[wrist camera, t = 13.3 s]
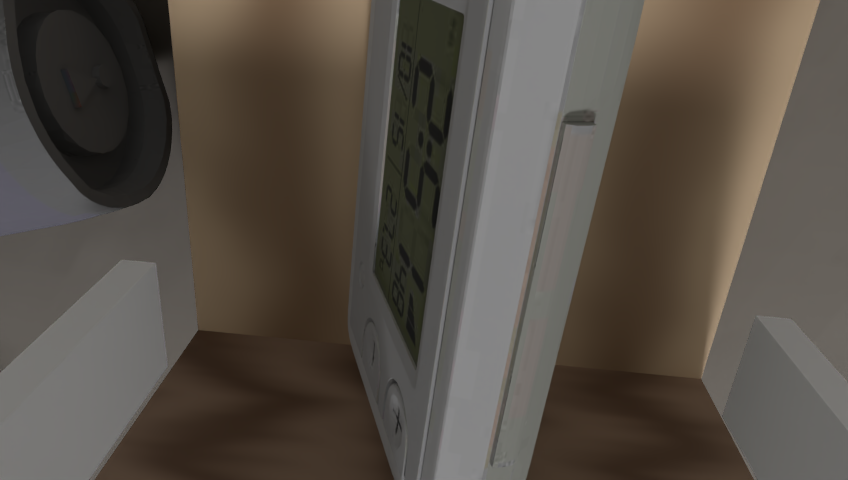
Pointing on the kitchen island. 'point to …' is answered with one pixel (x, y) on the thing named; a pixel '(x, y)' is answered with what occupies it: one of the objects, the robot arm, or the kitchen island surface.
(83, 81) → the bluetooth speaker
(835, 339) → the kitchen island surface
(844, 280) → the kitchen island surface
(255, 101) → the wooden stand
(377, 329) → the digital clock
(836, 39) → the kitchen island surface
